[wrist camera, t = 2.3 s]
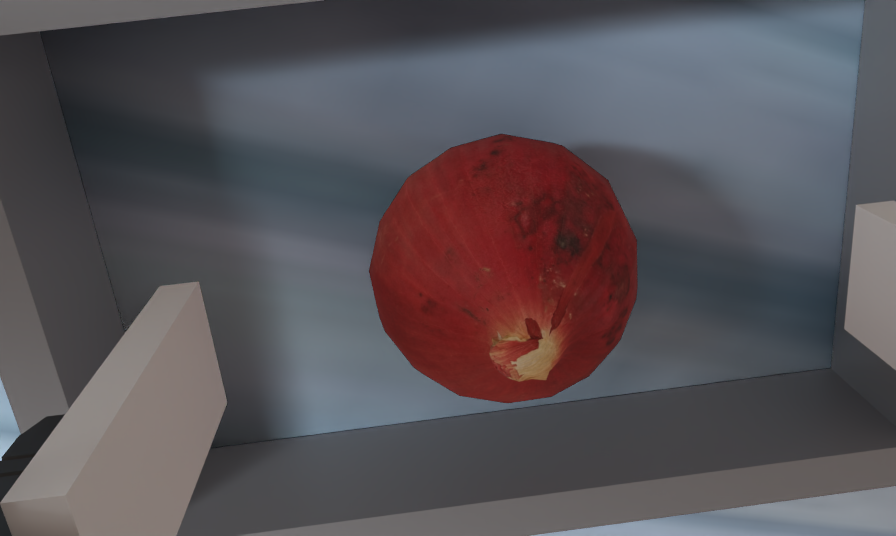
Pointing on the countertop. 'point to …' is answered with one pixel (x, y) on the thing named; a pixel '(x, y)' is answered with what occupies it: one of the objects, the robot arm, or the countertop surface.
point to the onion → (505, 269)
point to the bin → (456, 438)
